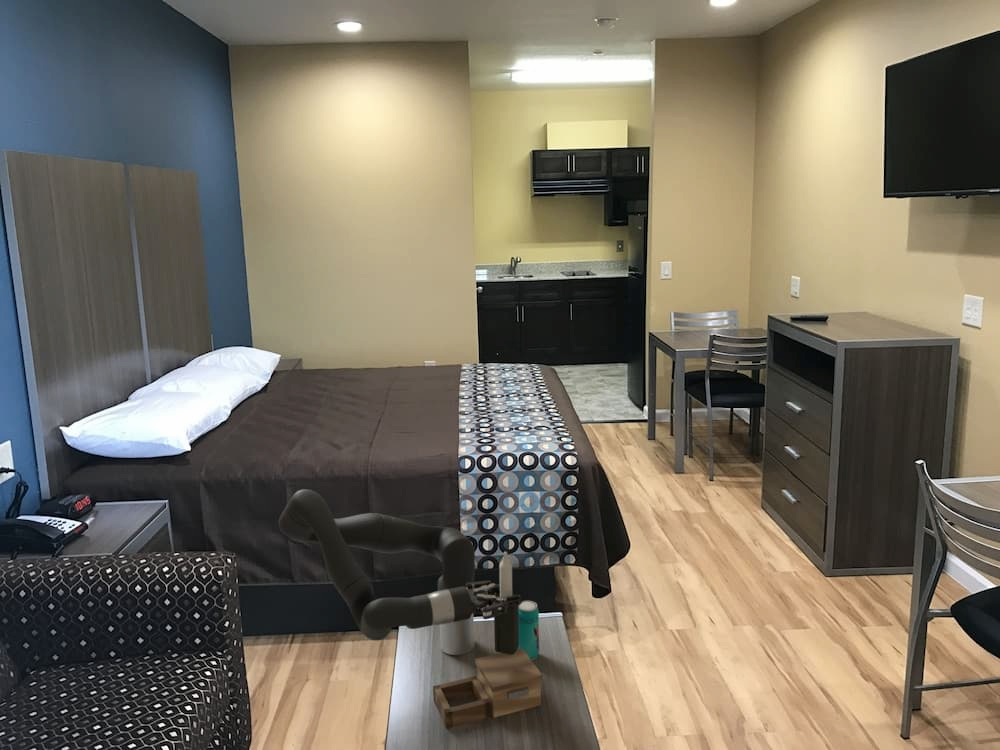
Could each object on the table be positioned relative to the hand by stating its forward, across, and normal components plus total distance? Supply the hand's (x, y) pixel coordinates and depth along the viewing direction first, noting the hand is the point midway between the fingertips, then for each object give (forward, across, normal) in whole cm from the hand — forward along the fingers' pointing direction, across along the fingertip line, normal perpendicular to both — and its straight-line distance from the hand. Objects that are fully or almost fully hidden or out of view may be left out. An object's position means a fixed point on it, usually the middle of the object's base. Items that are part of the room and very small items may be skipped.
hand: (515, 592), depth 185 cm
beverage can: (+9, +14, +28) cm, 32 cm away
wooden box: (-8, 0, +27) cm, 29 cm away
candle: (-2, 0, +14) cm, 14 cm away
